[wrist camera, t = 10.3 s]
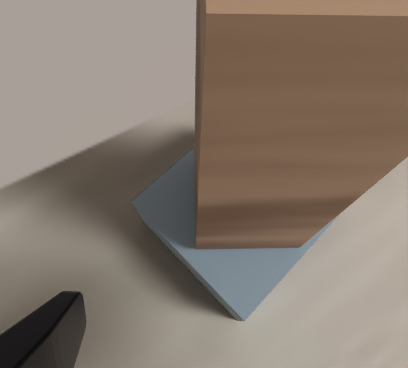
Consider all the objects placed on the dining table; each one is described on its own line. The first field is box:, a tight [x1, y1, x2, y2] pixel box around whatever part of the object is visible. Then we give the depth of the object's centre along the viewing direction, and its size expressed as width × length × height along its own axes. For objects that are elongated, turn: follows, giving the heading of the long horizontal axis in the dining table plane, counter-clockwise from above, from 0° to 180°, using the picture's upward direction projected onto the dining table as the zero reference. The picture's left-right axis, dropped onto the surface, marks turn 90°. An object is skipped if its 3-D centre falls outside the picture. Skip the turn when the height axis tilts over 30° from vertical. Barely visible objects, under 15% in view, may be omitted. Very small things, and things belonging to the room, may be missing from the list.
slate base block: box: [131, 148, 337, 321], centre depth 19 cm, size 8×8×4 cm
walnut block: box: [194, 0, 408, 250], centre depth 11 cm, size 5×5×12 cm
